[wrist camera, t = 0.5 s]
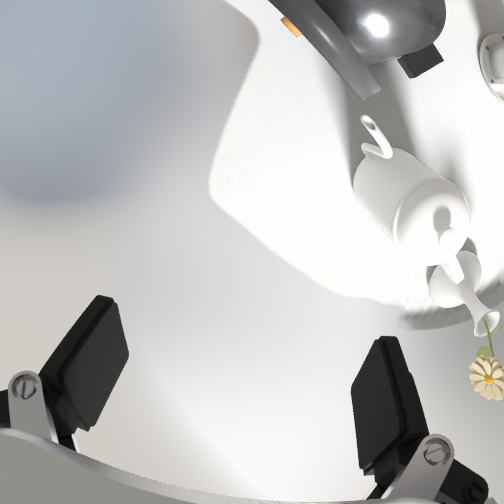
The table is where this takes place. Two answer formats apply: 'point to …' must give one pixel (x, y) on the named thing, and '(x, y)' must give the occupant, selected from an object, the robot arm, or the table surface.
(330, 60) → the cooker lid
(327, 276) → the table surface
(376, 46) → the cooker pot
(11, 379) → the robot arm
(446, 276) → the flower in vase
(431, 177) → the coffeepot
